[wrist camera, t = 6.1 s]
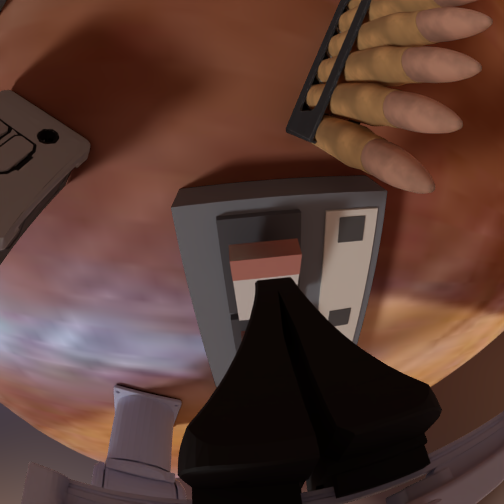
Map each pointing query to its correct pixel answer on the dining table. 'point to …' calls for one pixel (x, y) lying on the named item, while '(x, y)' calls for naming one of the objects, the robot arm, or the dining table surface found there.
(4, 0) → the grey cup
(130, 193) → the dining table surface
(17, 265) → the dining table surface
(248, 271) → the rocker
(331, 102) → the ammunition clip
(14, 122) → the electrical switch
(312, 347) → the robot arm
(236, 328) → the switch panel
